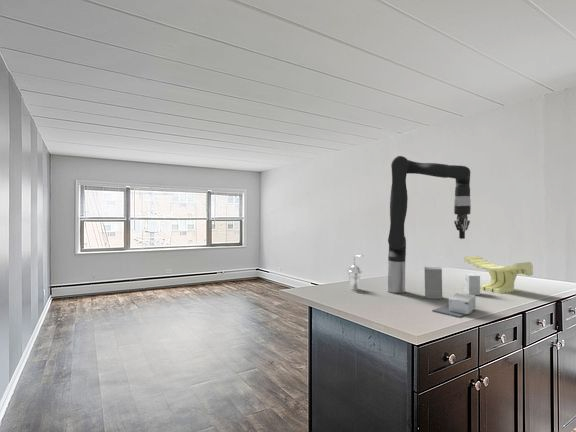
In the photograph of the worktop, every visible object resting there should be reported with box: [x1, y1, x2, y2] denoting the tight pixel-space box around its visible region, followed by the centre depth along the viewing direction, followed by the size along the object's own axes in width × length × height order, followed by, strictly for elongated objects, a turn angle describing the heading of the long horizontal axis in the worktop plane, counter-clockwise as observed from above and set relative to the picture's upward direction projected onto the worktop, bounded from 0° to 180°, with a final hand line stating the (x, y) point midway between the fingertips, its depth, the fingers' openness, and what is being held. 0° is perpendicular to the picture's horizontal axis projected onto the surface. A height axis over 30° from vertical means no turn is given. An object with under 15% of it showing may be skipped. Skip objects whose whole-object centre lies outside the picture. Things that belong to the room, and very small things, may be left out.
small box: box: [464, 272, 481, 296], centre depth 190 cm, size 8×6×10 cm
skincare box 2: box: [448, 293, 477, 315], centre depth 156 cm, size 8×6×15 cm
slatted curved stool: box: [463, 255, 534, 294], centre depth 200 cm, size 30×16×18 cm, turn 28°
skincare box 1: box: [424, 266, 443, 300], centre depth 180 cm, size 8×7×16 cm
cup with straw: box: [346, 254, 365, 291], centre depth 199 cm, size 8×9×20 cm
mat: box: [431, 304, 477, 319], centre depth 155 cm, size 16×12×1 cm
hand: (462, 238), depth 179 cm, fingers closed
